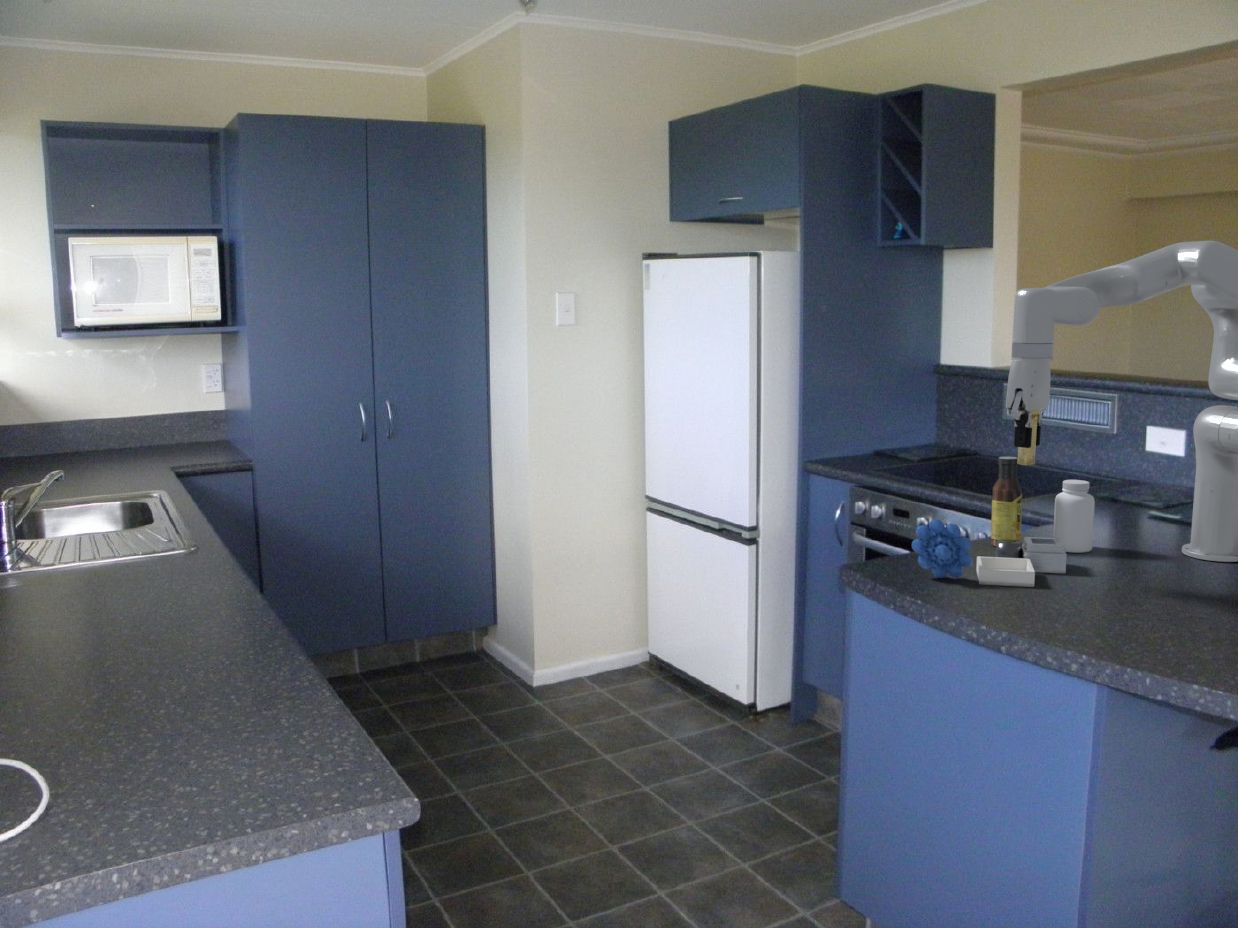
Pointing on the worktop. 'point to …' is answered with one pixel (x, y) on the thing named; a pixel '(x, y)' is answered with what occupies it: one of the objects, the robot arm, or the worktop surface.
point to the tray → (1005, 571)
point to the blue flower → (942, 549)
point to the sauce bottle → (1006, 502)
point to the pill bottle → (1074, 516)
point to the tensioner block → (1035, 553)
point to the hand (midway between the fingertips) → (1026, 445)
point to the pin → (1028, 454)
